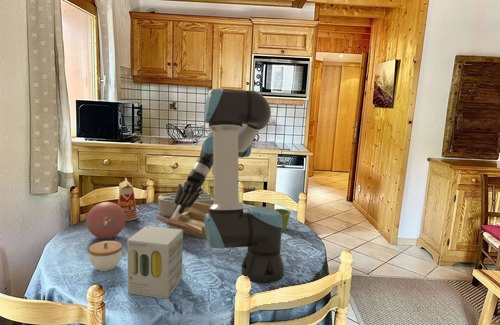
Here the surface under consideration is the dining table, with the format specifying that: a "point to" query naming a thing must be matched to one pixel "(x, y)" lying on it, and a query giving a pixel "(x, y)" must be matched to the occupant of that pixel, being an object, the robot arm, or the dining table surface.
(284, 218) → the plant pot
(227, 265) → the dining table surface
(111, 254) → the lidded jar
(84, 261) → the dining table surface
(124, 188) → the milk carton
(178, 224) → the panel
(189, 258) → the dining table surface
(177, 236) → the supplement box
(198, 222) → the tray
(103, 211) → the balloon
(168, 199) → the grey compartment organizer
